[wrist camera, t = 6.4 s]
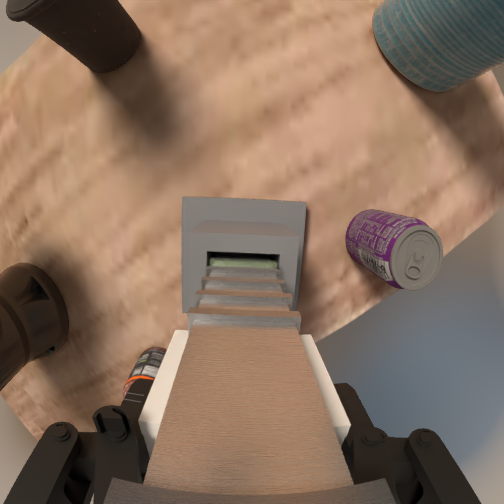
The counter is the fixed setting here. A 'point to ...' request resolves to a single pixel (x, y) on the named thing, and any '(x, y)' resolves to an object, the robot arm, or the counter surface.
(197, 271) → the stand
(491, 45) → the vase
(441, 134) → the counter surface
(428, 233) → the beverage can
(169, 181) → the counter surface
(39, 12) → the container
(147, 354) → the supplement bottle
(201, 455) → the column
